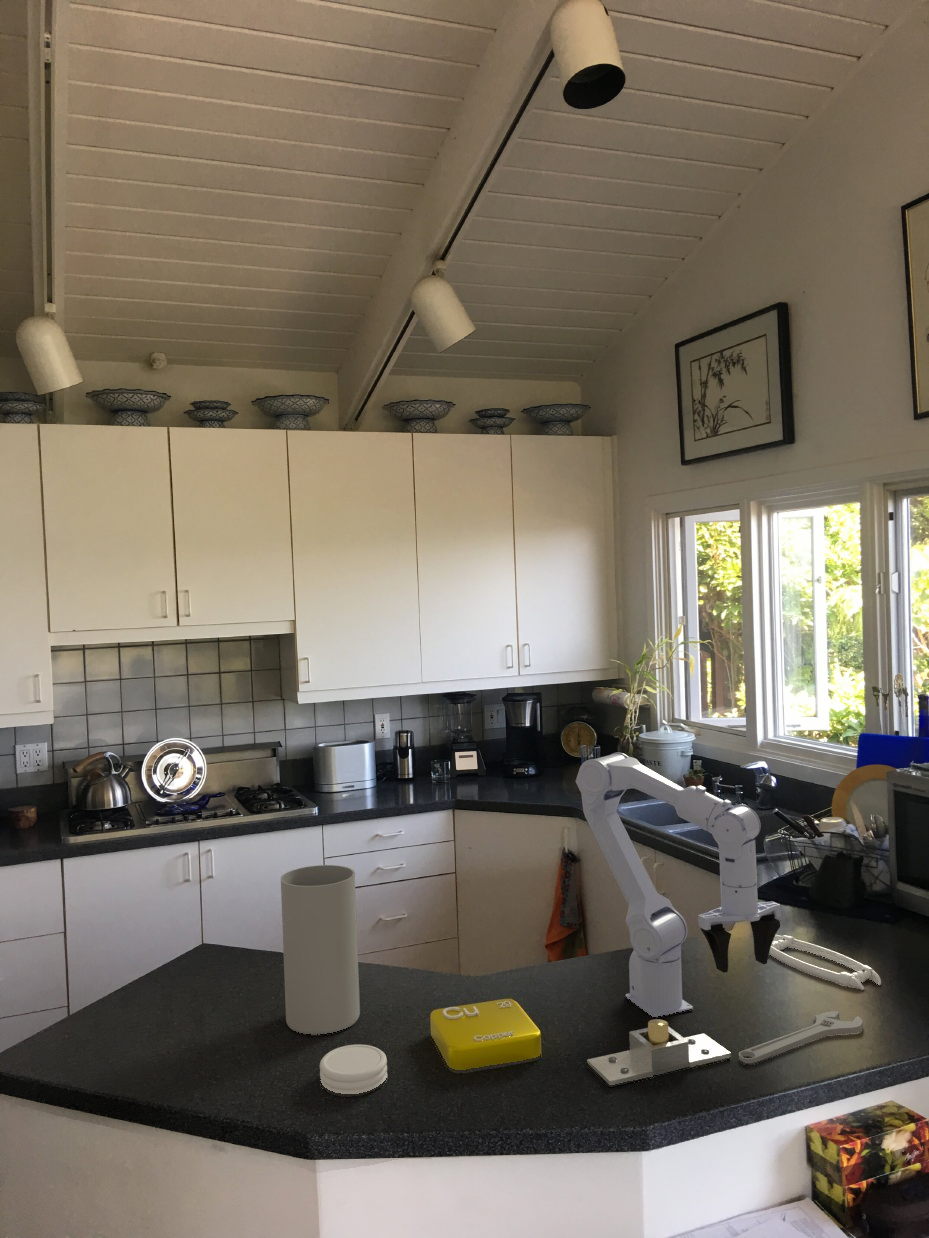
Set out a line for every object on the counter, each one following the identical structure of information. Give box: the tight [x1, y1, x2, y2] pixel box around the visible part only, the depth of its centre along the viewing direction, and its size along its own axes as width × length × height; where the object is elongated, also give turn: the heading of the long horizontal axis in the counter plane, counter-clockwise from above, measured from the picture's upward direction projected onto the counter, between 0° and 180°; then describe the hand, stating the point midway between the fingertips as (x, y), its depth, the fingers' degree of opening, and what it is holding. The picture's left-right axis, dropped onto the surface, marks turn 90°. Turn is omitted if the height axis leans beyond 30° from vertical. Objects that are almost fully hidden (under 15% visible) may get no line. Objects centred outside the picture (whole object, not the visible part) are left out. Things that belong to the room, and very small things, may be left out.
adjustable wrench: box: [738, 1010, 864, 1063], centre depth 149 cm, size 25×6×2 cm, turn 115°
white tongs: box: [769, 934, 882, 991], centre depth 179 cm, size 3×10×25 cm
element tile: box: [430, 998, 542, 1070], centre depth 151 cm, size 15×15×5 cm
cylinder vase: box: [280, 864, 361, 1036], centre depth 162 cm, size 12×12×25 cm
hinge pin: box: [647, 1018, 669, 1046], centre depth 143 cm, size 3×3×6 cm
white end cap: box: [319, 1044, 388, 1094], centre depth 141 cm, size 10×10×4 cm
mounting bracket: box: [586, 1025, 732, 1085], centre depth 143 cm, size 7×21×4 cm, turn 110°
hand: (741, 966), depth 153 cm, fingers open, 7 cm apart
